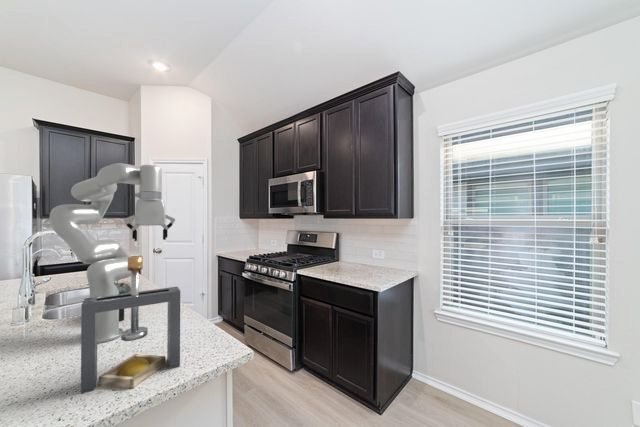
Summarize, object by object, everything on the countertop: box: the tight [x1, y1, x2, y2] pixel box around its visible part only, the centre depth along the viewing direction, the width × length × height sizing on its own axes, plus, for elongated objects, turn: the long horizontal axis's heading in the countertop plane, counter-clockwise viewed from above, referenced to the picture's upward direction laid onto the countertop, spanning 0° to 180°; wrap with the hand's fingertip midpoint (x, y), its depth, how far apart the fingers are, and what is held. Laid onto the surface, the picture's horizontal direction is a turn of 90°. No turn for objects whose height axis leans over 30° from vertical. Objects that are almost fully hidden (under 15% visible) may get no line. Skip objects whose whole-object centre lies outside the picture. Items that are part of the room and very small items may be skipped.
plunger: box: [120, 255, 149, 342], centre depth 87 cm, size 7×7×25 cm
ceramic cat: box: [114, 280, 127, 322], centre depth 135 cm, size 20×6×20 cm, turn 48°
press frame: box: [80, 286, 181, 395], centre depth 87 cm, size 7×25×25 cm, turn 125°
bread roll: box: [119, 358, 150, 377], centre depth 87 cm, size 8×9×4 cm
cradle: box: [98, 353, 166, 389], centre depth 87 cm, size 11×13×2 cm
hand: (150, 240), depth 109 cm, fingers open, 9 cm apart
